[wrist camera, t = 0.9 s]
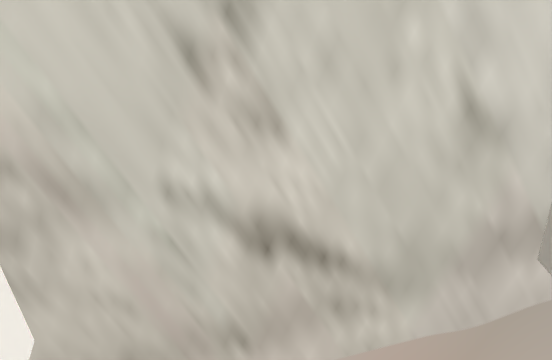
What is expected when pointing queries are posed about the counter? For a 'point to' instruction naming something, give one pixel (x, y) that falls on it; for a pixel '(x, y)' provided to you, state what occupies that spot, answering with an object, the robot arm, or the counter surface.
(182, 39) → the counter surface
